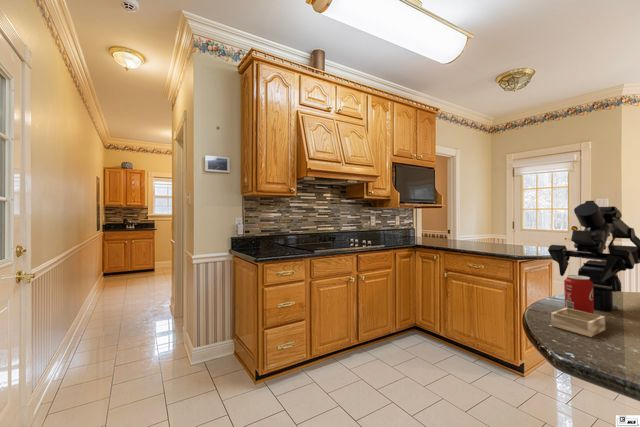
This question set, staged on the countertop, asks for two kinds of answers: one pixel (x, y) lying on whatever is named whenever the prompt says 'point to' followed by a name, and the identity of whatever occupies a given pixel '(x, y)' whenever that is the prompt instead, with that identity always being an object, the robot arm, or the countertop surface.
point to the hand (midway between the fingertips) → (580, 278)
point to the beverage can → (579, 293)
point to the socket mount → (578, 321)
